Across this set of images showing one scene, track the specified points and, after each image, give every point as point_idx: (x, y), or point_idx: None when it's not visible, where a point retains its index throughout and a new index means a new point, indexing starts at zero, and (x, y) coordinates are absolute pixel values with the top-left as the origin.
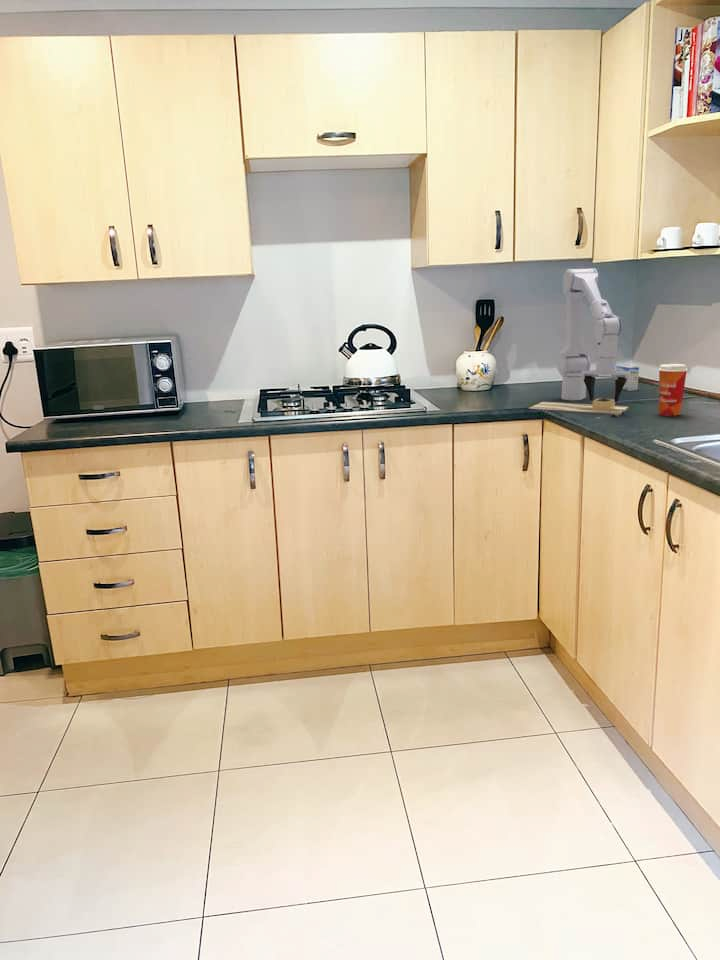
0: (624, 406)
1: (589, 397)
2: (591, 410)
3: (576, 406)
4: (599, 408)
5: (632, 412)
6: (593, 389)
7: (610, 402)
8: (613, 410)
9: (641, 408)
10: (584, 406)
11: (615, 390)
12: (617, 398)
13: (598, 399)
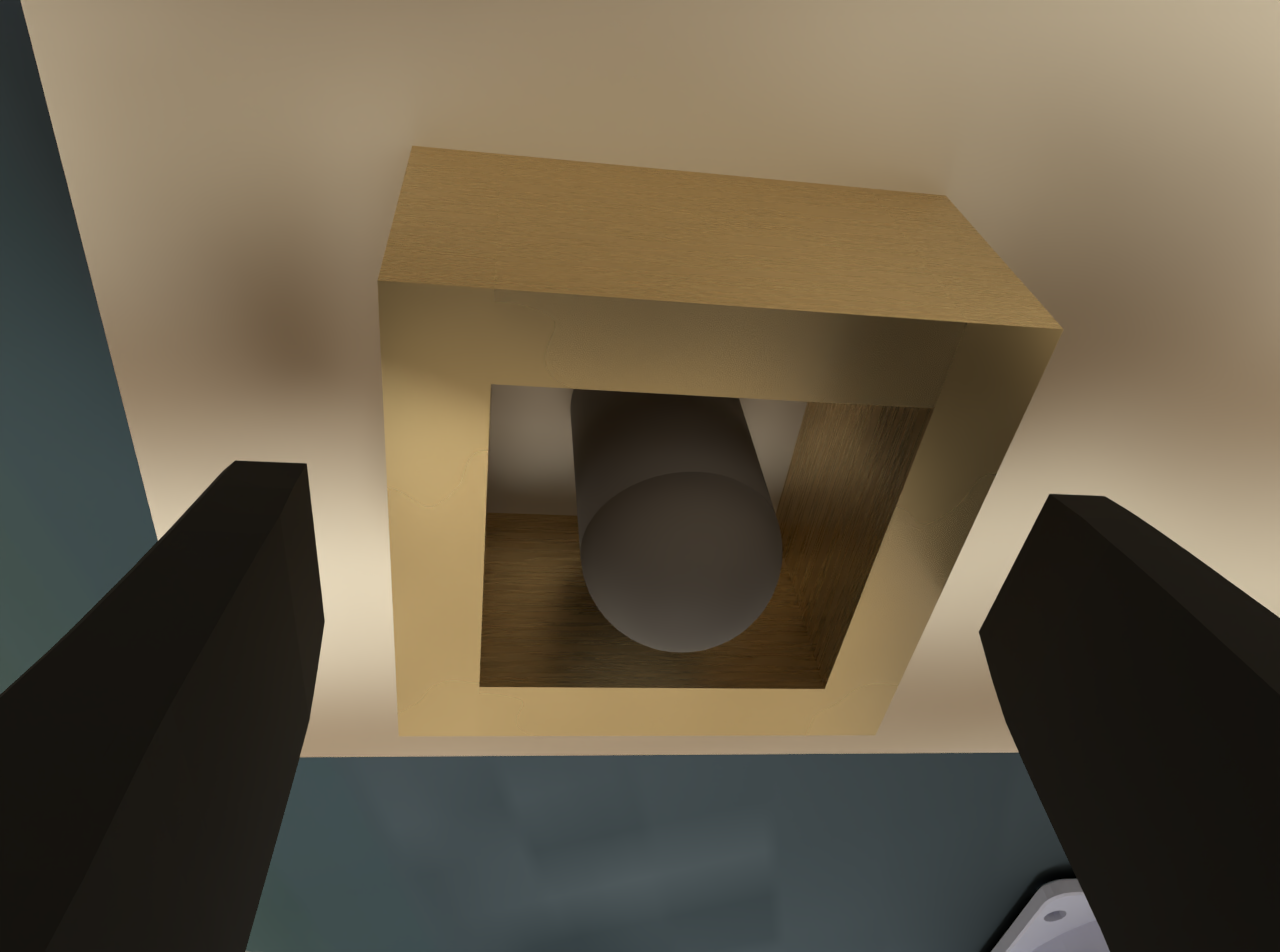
0: None
1: (1180, 548)
2: (975, 79)
3: (1249, 527)
4: (753, 202)
5: (13, 507)
6: (1140, 923)
7: (386, 271)
8: (348, 266)
9: None
10: None
11: (116, 793)
12: (171, 554)
13: (852, 622)
